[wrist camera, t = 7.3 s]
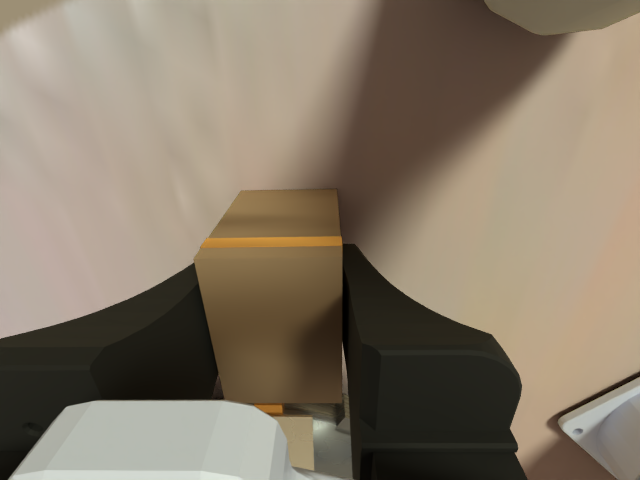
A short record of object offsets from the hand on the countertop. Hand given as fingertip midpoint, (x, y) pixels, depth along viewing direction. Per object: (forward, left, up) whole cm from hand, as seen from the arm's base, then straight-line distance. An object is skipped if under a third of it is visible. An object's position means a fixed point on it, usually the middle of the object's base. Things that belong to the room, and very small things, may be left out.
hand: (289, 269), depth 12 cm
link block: (0, 0, -1) cm, 1 cm away
